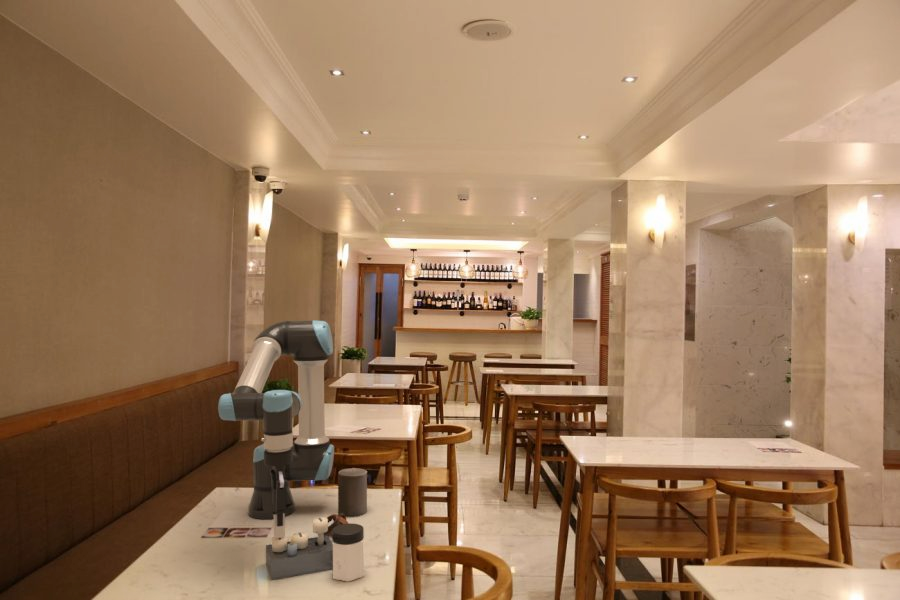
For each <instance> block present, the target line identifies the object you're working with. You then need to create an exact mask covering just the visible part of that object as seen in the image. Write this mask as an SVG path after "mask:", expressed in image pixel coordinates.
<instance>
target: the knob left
mask: <svg viewBox="0 0 900 600" xmlns="http://www.w3.org/2000/svg"><path fill="white" fill-rule="evenodd" d="M287 542H288V536H287V535H285V537H281V538H274V536H273V537H272V538H271V544H272V551H273V552H277V553H279V552H283V551H285V550H287Z"/></svg>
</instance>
